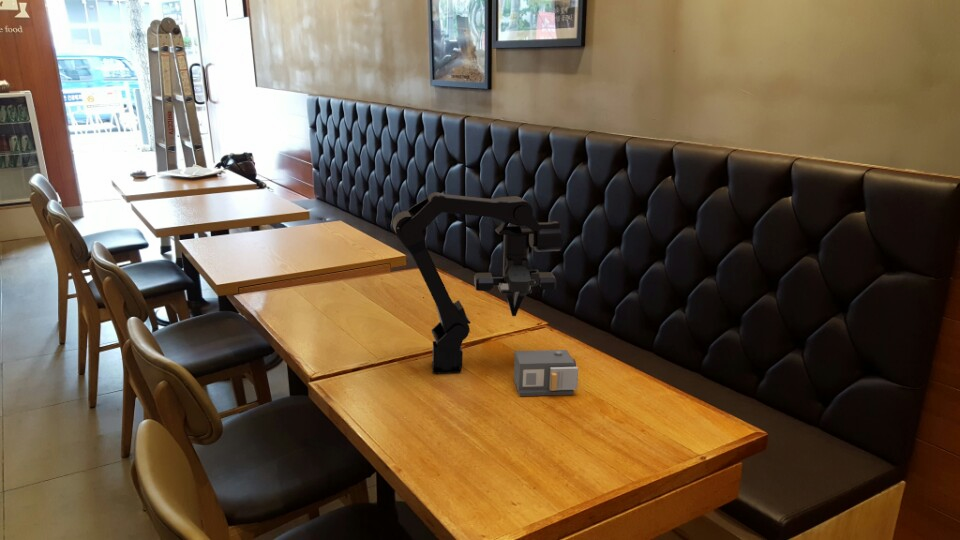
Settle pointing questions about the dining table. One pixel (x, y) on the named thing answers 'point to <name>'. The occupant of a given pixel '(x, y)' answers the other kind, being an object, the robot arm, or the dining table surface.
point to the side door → (563, 378)
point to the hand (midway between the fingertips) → (513, 315)
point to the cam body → (539, 371)
